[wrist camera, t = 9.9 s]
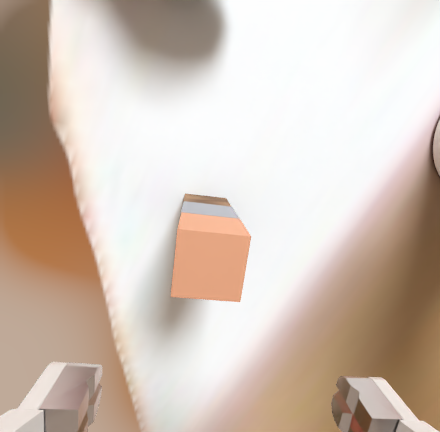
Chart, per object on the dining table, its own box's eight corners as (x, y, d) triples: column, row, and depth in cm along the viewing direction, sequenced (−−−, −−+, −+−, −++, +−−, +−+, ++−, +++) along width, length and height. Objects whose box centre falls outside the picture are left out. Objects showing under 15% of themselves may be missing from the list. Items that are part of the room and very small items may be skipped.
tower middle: (231, 206, 28) (239, 218, 23) (225, 251, 29) (230, 271, 24) (183, 201, 27) (181, 211, 22) (178, 247, 28) (175, 266, 24)
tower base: (226, 198, 33) (231, 206, 28) (220, 237, 34) (224, 251, 29) (185, 193, 32) (183, 201, 27) (181, 233, 33) (178, 247, 28)
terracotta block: (239, 218, 23) (251, 236, 18) (231, 271, 24) (240, 302, 19) (181, 212, 23) (177, 228, 18) (175, 267, 24) (170, 296, 19)
